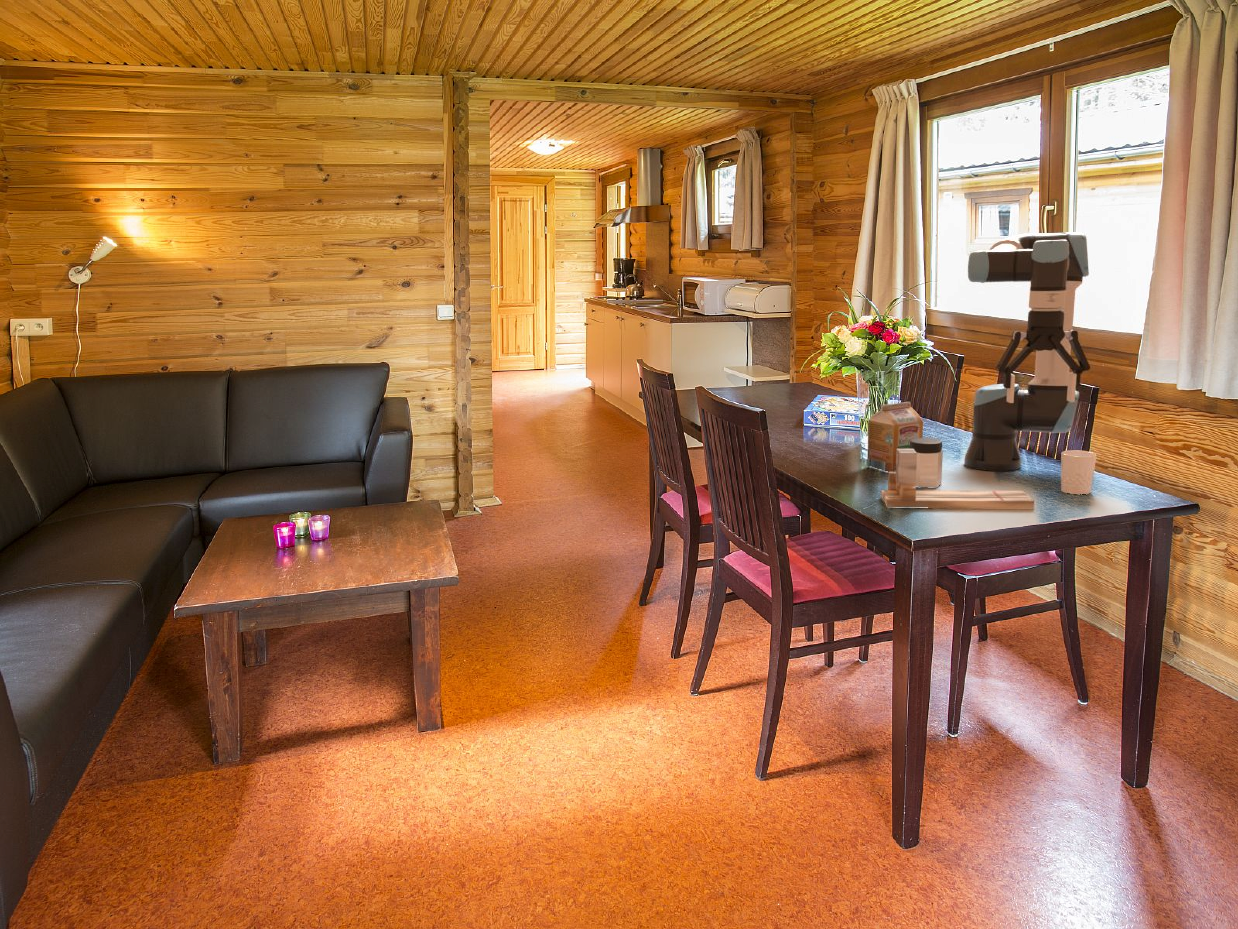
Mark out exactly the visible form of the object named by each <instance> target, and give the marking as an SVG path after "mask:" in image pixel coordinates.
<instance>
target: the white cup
mask: <svg viewBox="0 0 1238 929" xmlns="http://www.w3.org/2000/svg"><path fill="white" fill-rule="evenodd" d="M1060 456H1061V458H1060V461H1061V462H1060V472H1061V473H1060V481H1061V484H1060V486H1061V487H1060V490H1061V492H1062V493H1064V494H1067V493H1070V494H1069V495H1073V494H1077V495H1076V496H1083V495H1082V494H1086V495H1089V493H1090V494H1091V492H1092V483H1093V480H1094V475H1095V467H1096V460H1097V454H1096V453H1095V452H1092V451H1086V450H1080V449H1079V450H1076V449H1075V450H1074V449H1070V450H1064V451H1062V452H1061V455H1060ZM1080 494H1081V495H1080Z"/></svg>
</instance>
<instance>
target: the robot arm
mask: <svg viewBox="0 0 1238 929" xmlns="http://www.w3.org/2000/svg"><path fill="white" fill-rule="evenodd" d="M1088 256H1089V255H1088V241H1087V236H1086V235H1085V233H1082V232H1072V231H1069V232H1068V231H1065V232H1047V233H1046V232H1045V233H1023V234H1019V235H1018V234H1017V235H1013V236H1011V237H1007V238H1004V239H1001V240H999V241H998V242H995V243H994V244H993V245H992V246H991V247H990V248H989V250H985V249H982V250H975V251H972V252H970V254H969V256H968V262H967V277H968V280H969V281H970V283H982V284H984V283H1002V282H1003V283H1005V282H1007V283H1008V282H1009V283H1010V282H1011V283H1012V282H1013V283H1019V282H1020V283H1023V282H1025V283H1027V282H1029V283H1030V287H1029V297H1028V298H1029V300H1028V308H1029V309H1031V310H1029V311H1028V314H1027V329H1026V331H1025V332H1022V331H1016V330H1013V332H1012V334H1011V340H1010V342H1009V343H1008V346H1006V349H1005V350H1004V353H1003V354H1002V356H1001V358H1000V359H999V361H998V362H997V365H996V367H995V370H996V372H999V373H1002V374H1003V383H999V384H990V385H984V386H981V387H979V388H978V389H976V390H975V392H974V400H973V404H972V406H973V414H972V415H973V417H972V418H973V419H972V435H971V440H970V443H969V445H968V448H967V450H966V453H965V454H964V463H963V464H964V465H965V467H968V468H971V469H975V470H981V471H988V472H990V471H991V472H992V471H993V472H1001V471H1002V472H1006V471H1015V470H1018V469H1021V467H1022V458H1021V457H1022V456H1021V454H1020V453H1021V452H1020V449H1019V446H1018V443H1017V432H1035V433H1050V434H1054V433H1055V434H1056V433H1058V434H1059V433H1061V434H1065V433H1068V432H1070V431H1071V430H1072V428H1073V425H1074V420H1075V415H1076V410H1077V406H1078V401H1079V398H1080V392H1079V391H1077V390H1076V388H1079V387H1080V386H1081V375H1082V374H1083V373H1084V372H1085V371H1089V370H1091V366H1090V363H1089V361H1088V359H1087V357H1086V355H1085V353H1084V349H1083V347H1082V346H1081V343H1080V341H1079V332H1078V330H1076V329H1073V326H1074V313H1075V303H1076V302H1075V300H1076V290H1077V289H1078V288H1079V287H1080V286H1081V285H1082V284H1083V281H1084V280H1083V277H1084V278H1086V277H1088V276H1089V275H1090V270H1089V257H1088ZM1024 338H1025V339H1026V342H1027V343H1026V344H1025V345H1024V346H1023V348H1022V349H1021V350H1020V351H1019V352H1018V353H1017V355H1016V356H1015V357H1014V358H1013V359H1012V357H1013V356H1014V354H1015V352H1016V350H1017V348H1018V346H1019V345H1020V343H1021V342H1023V339H1024ZM1034 351H1036V353H1035V365H1034V377H1033V378H1032V379H1031V380H1030V381H1029V382H1027V384H1028V385H1027V389H1021V387H1020V385H1019V384H1018V383H1015V382H1016V375H1015V374H1014V371H1015V370H1017V369H1018V367H1019V366H1020V365H1021V364H1022V363H1023V362H1024V361H1025V360H1026V359H1027V358H1028V356H1029V355H1030V354H1032V353H1033V352H1034ZM1072 351H1073V353H1074V356H1075V358H1076V360H1077V362H1078V363H1077V362H1076V361H1075V359H1074V358H1073V357H1072V356H1071V354H1072V353H1071V352H1072ZM1011 359H1012V360H1011ZM1010 360H1011V361H1010ZM1070 370H1071V371H1072V372H1070Z"/></svg>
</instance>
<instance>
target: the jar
mask: <svg viewBox="0 0 1238 929" xmlns="http://www.w3.org/2000/svg"><path fill="white" fill-rule="evenodd" d="M910 449H914V450H915V451H916V452H917V465H916V485H914V486H918V487H937V488H938V487H940V486H941V485H942V477H943V457H944V456H943V454H944V450H943V441H942V440H940V439H937V438H931V437H923V438H915V439H911V440H910ZM939 485H940V486H939Z"/></svg>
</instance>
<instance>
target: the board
mask: <svg viewBox="0 0 1238 929" xmlns="http://www.w3.org/2000/svg"><path fill="white" fill-rule="evenodd" d="M881 496H882V498H883V500H884V502H885V503H886V506H887V507H928V508H947V509H946V510H951V509H952V510H1034V508H1035V500H1033V498H1031V497H1030V496H1029V495H1028V494H1027V493H1025V492H1024V491H1023V490H918V489H916V501H905V500H902V498H901V497H900V495H899V494H898V492H897V490H888V489H886V490H883V489H882V490H881ZM881 496H880V497H881ZM882 498H881V499H882ZM883 500H882V501H883ZM884 502H883V503H884ZM886 506H885V507H886Z"/></svg>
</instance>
